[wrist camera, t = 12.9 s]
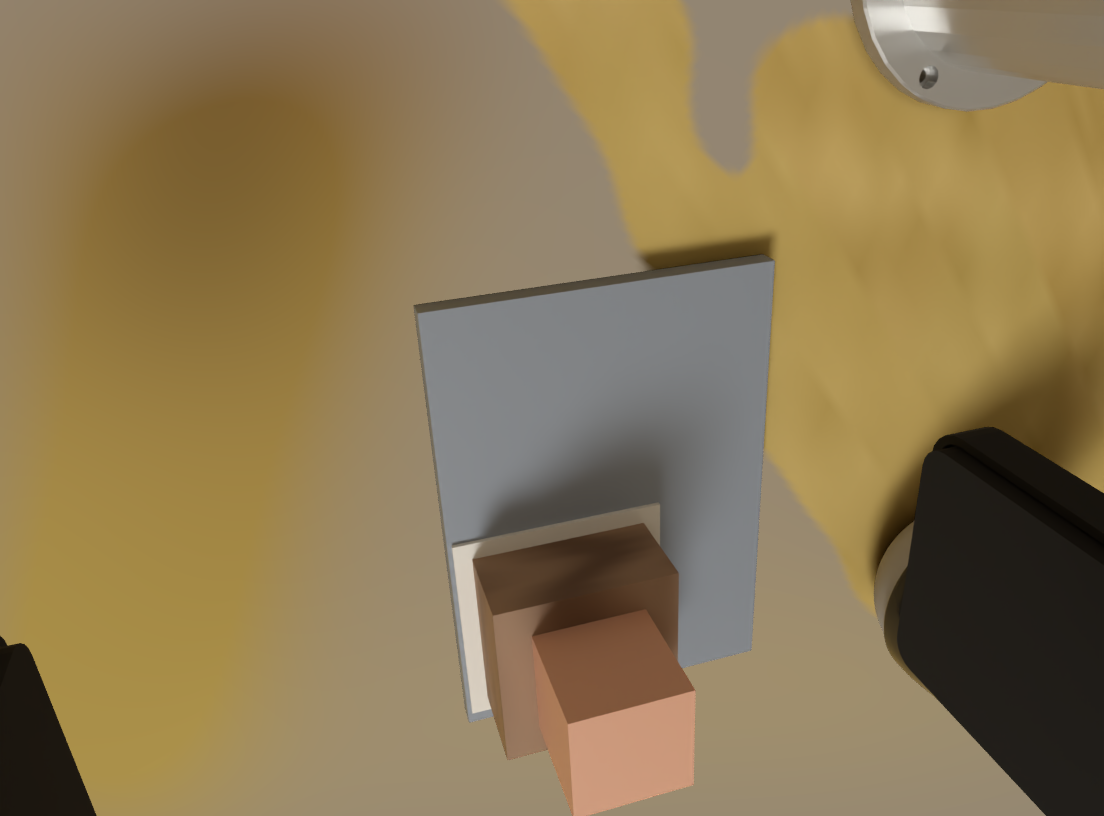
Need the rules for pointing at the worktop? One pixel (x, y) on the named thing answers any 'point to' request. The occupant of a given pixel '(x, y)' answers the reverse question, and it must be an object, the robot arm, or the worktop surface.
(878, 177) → the worktop surface
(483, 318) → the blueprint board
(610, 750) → the top cube
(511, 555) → the base block
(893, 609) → the black penguin toy
